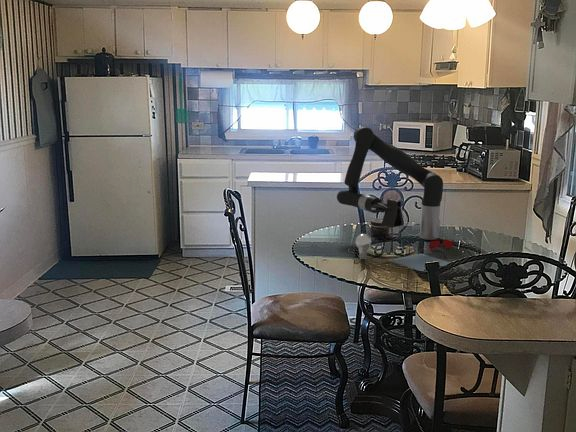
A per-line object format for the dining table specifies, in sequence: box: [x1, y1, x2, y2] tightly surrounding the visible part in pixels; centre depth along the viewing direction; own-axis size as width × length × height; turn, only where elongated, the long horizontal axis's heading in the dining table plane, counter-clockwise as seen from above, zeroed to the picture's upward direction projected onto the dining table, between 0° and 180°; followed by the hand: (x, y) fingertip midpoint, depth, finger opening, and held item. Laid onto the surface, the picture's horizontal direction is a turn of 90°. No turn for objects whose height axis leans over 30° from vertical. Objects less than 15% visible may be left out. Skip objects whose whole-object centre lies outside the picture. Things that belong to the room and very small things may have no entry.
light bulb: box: [355, 233, 372, 261], centre depth 267 cm, size 7×7×12 cm
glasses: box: [427, 239, 473, 261], centre depth 280 cm, size 14×16×5 cm
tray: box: [389, 252, 450, 271], centre depth 264 cm, size 20×20×1 cm
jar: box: [369, 218, 391, 238], centre depth 310 cm, size 10×10×8 cm
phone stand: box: [381, 198, 405, 229], centre depth 274 cm, size 9×6×12 cm, turn 129°
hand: (396, 210), depth 273 cm, fingers closed on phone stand
